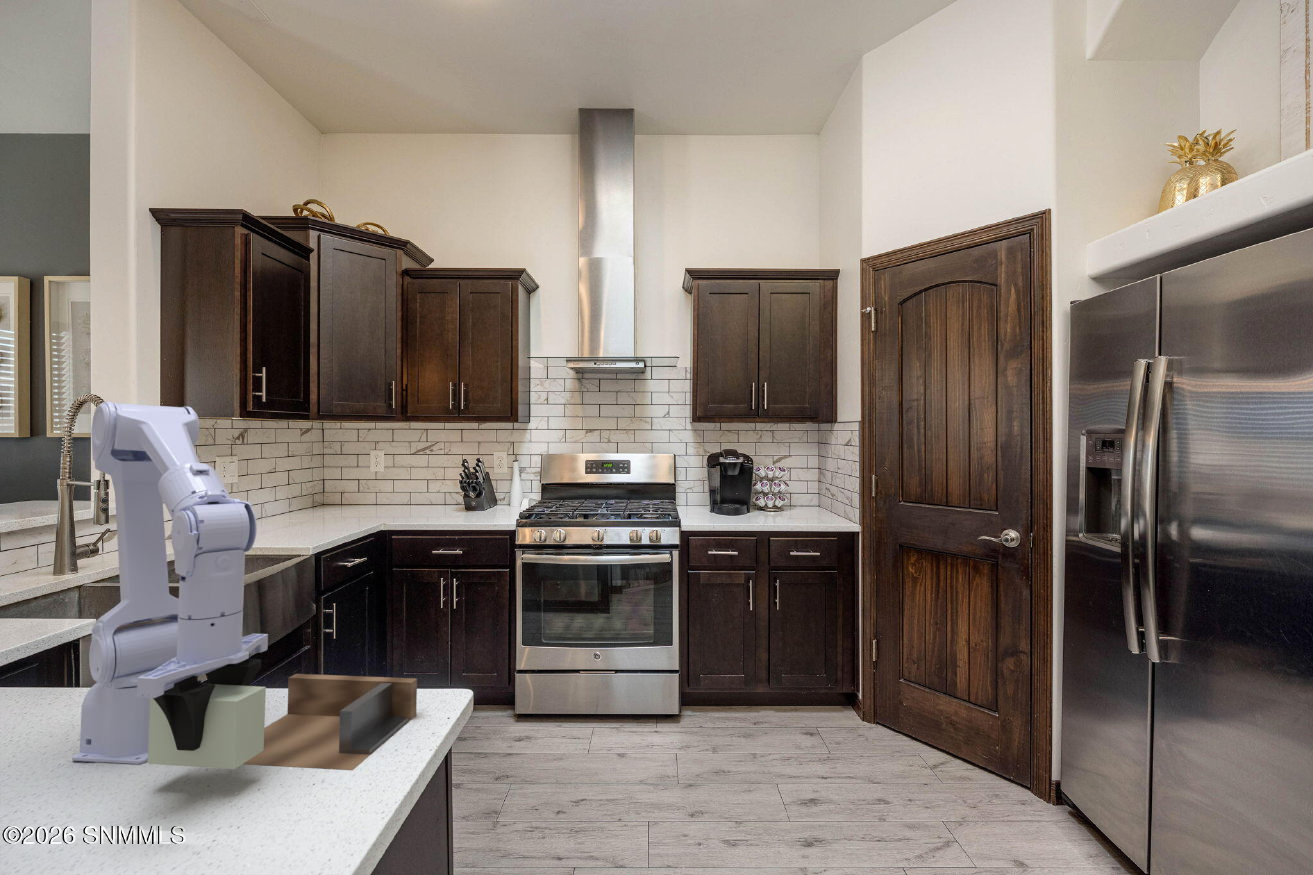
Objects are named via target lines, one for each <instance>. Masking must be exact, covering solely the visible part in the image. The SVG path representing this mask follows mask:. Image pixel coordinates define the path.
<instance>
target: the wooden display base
mask: <svg viewBox="0 0 1313 875" xmlns="http://www.w3.org/2000/svg"><path fill="white" fill-rule="evenodd" d="M287 680H288V682H287V684H288V686H287V688H288V689H287V691H288V692H287V714H285V715H283V716H282V717H281V718H279V719H277V720H275V721H273V722H272V723H270V724H269V725H267V726H264V750H263V751H262V752H260V753H259V754H257V755H256V756H254V757H253V758H251V759H250V760H248V761H246V762H245V763H243V764H242V765H246V766H247V765H249V766H268V767H284V768H301V769H304V768H305V769H318V770H319V769H321V770H339V771H354V770H355V769H356V768H357V767H358V766H359V765H360V764H362V763H363V762H364V761H365V760H367V759H368V758H369V757H370V756H371V755H372V754H373V753H375V752H376V751H377V750H378V749H379V748H381V747H382V746H383V745H384V744H385V743H386V742H387V741H389V740H390V739H391V738H392V737H393V736H394V735H395V734H397V733H398V732H399V731H400V730H401V729H402V728H404V726H406V725H407V724H408V723H410V722H411V720H413V719H414V718H415V717H416V716H417V706H418V705H417V699H418V697H417V696H418V692H417V691H418V678H415V677H414V678H411V677H407V678H406V677H388V676H387V677H384V676H361V675H359V676H358V675H337V674H336V675H333V674H331V675H330V674H314V673H313V674H308V673H307V674H306V673H295V674H293V675H292V676H289V677H288V679H287ZM381 683H392V714H391V716H399V717H408V722H407V723H406V724H405V725H403V726H402V727H401V728H400V729H399V730H398V731H396V732H395V733H394V734H393V735H392V736H391V737H389V738H388V739H387V740H386V741H385V742H384V743H382V744H381V745H380V746H379V747H378V748H377V749H376V750H374V751H373V752H372V753H371V754H370V755H367V754H348V753H339V732H340V711H341V710H342V709H344V708H345V707H347V706H348V705H350V704H351V703H353V702H354V701H356V700H357V699H359V698H360V697H362V696H363V695H365V694H366V693H367V692H369V691H370V690H372V689H373V688H375V687H376V686H378V685H379V684H381Z"/></svg>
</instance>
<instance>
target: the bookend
mask: <svg viewBox="0 0 1313 875" xmlns="http://www.w3.org/2000/svg"><path fill="white" fill-rule="evenodd" d="M391 714H392V683H381V684H379V685H378V686H376V687H375V688H373V689H372V690H370V691H369V692H367V693H366V694H365V695H363V696H362V697H360V698H359V699H357V700H356V701H354V702H353V703H351V704H350V705H348V706H347V707H345V708H344V709H342V710H341V711H340V732H339V753H348V754H367V755H370V754H371V753H372V752H373V751H374V750H376V749H377V748H378V747H379V746H380V745H381V744H382V743H384V742H385V741H386V740H387V739H388V738H389V737H391V736H392V735H393V734H394V733H395V732H396V731H398V730H399V729H400V728H401V727H402V726H403V725H405V724H406V723H407V722H408V717H399V716H391ZM408 723H409V722H408ZM408 723H407V724H408ZM407 724H406V725H407ZM406 725H405V726H406ZM403 727H404V726H403ZM403 727H402V728H403ZM402 728H401V729H402ZM401 729H400V730H401ZM400 730H399V731H400ZM399 731H398V732H399ZM395 734H396V733H395ZM395 734H394V735H395ZM394 735H393V736H394ZM393 736H392V737H393ZM392 737H391V738H392ZM388 740H389V739H388ZM388 740H387V741H388ZM387 741H386V742H387ZM386 742H385V743H386ZM385 743H384V744H385ZM381 746H382V745H381ZM381 746H380V747H381ZM380 747H379V748H380ZM379 748H378V749H379ZM378 749H377V750H378ZM377 750H376V751H377ZM374 752H375V751H374ZM374 752H373V753H374ZM373 753H372V754H373ZM372 754H371V755H372ZM371 755H370V756H371Z"/></svg>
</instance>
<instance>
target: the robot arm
mask: <svg viewBox="0 0 1313 875" xmlns="http://www.w3.org/2000/svg"><path fill="white" fill-rule="evenodd" d="M199 420H200V419H199V416H198V414H197V413H196V411H195V410H194V409H193V408H192V407H191V406H180V407H179V406H168V405H167V406H166V405H165V406H164V405H150V404H149V405H148V404H135V403H134V404H133V403H121V402H120V403H118V402H112V401H108V400H107V401H103V402H101V403H100V404H99V405H98V406H96V408H95V410H94V412H93V415H92V421H91V422H92V423H91V450H92V451H91V452H92V461H93V462H94V469H95V470H96V471H99V472H102V473H104V474H106V475H109V476H110V477H111V483H112V487H113V491H114V502H115V517H116V518H115V520H116V534H117V536H116V538H117V555H118V556H117V557H118V572H119V574H118V575H119V590H120V602H118V604H117V605H115V606H114V607H113V608H110V610H108V611H107V612H105V613H104V614H103V615H101V616H100V617H99V618H98V619H97V620H96V621H95V623H94V624H93V627H92V629H91V643H90V647H89V653H88V660H89V661H88V663H89V664H88V665H89V670H90V675H91V677H92V679H93V680H94V681H95V682H96V683H94V684H93V685H92V686H91V687H90V688H89V690H88V691H87V693H86V694H85V696H84V698H83V701H82V704H81V711H80V712H81V713H80V714H81V716H80V735H79V752H78V753H76V754H73V755H72V756H71V760H72V761H77V762H78V761H79V762H95V763H109V764H110V763H111V764H112V763H114V764H126V765H127V764H132V765H142V764H144V763H146V762H148V742H149V719H150V698H153V699H154V700H155V701H156V703H157V704H158V705H159V707H160V708H161V709H162V711H163V713H164V714H165V716H166V718H167V720H168V722H169V725H170V728H171V730H172V734H173V737H174V740H175V744H176V747H177V750H186V751H195V750H196V749H198V748H200V745H201V741H202V737H203V728H204V718H205V713H206V709H207V705H208V702H209V699H210V697H211V694H212V692H213V690H214V688H215V685H214V684H217V685H238V686H251V684H252V682H253V681H254V678H256V675H257V674H258V673H259V671H260V670H261V668H262V659H259V658H251V655H253V654H255V653H263V652H266V651H267V650H268V643H269V634H268V633H251V634H248V635H245V636H243V621H244V619H243V618H244V594H245V593H244V592H245V591H244V590H245V564H246V563H245V562H246V553H247V552H249V551H251V550H252V548H253V546H254V545H255V541H256V538H257V529H258V528H257V518H256V514H255V513H256V512H255V511H254V509H253V507H252V504H251V503H250V502H249V501H246V500H240V498H232V495H231V494H230V493H229V491H228V489H227V488H226V486H225V485H224V483H223V481H222V479H221V478H220V476H219V474H218V472H217V470H215V468H213V466H211V465H209V464H206V463H204V462H200V460H199V457H198V454H197V451H196V449H195V446H196V444H197V442H198V440H199V436H200V421H199ZM164 505H165V508H166V509H167V511H168V513H169V515H170V518H171V519H172V524H171V530H170V532H171V533H170V536H171V539H170V540H171V545H172V549H173V555H174V571H175V574H177V575H179V585H178V586H179V587H178V589H179V590H178V598H177V597H175V596H173V595H171V594H170V588H169V587H170V586H169V572H168V559H167V558H168V557H167V545H166V544H167V543H166V531H165V530H166V529H165V518H164V517H165V514H164ZM156 620H163V621H159V622H154V623H153V621H156ZM151 621H152V623H148V622H151ZM146 622H147V624H142V625H136V626H131V627H125V628H120V629H117V628H119V627H124V626H128V625H134V624H141V623H146ZM203 675H205V676H206V679H207V683H202V680H200V679H198V677H201V676H203Z"/></svg>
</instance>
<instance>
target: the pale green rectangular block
mask: <svg viewBox="0 0 1313 875" xmlns="http://www.w3.org/2000/svg"><path fill="white" fill-rule="evenodd" d="M214 685H215V688H214V690H213V692H212V694H211V697H210V699H209V702H208V705H207V709H206V713H205V718H204V728H203V737H202V741H201V745H200V748H198V749H196V750H195V751H186V750H177V747H176V744H175V740H174V737H173V734H172V730H171V728H170V725H169V722H168V720H167V718H166V716H165V714H164V713H163V711H162V709H161V708H160V707H159V705H158V704H157V703H156V701H155V700H154V699H153V698H150V719H149V742H148V761H147V765H162V766H163V765H165V766H178V767H192V768H193V767H194V768H210V769H227V770H236V769H237V768H239V767H240V766H242V765H244V764H243V763H245V762H246V761H248V760H250V759H251V758H253V757H254V756H256V755H257V754H259V753H260V752H262V751H263V750H264V728H265V720H266V718H265V717H266V716H265V715H266V695H267V694H266V693H267V691H266V690H267V687H266V686H256V685H250V686H238V685H217V684H214Z"/></svg>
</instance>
